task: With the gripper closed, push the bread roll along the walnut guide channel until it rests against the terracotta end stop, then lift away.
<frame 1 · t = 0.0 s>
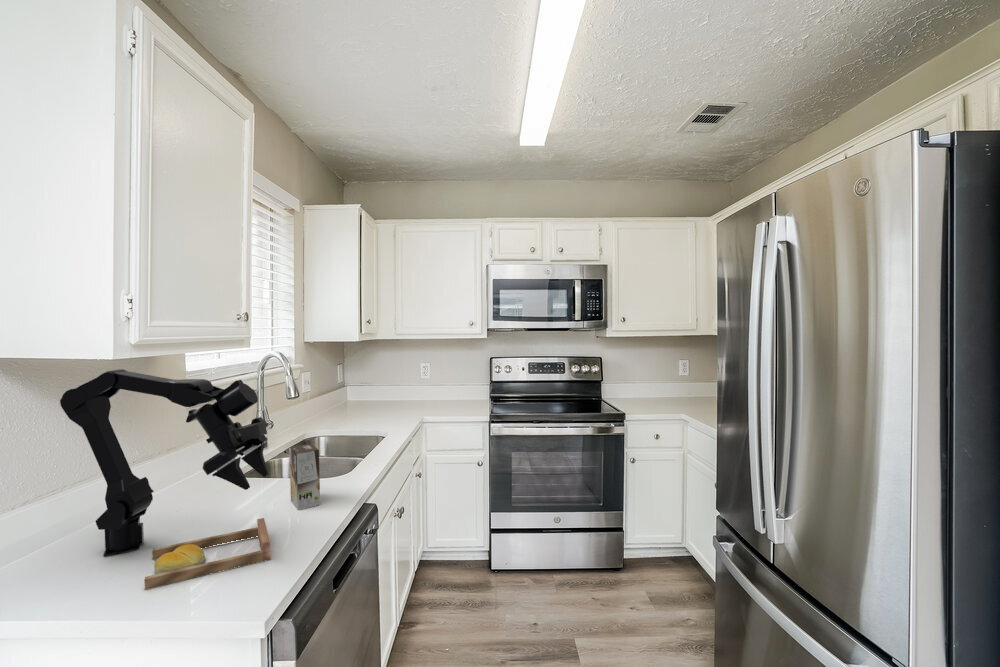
hand: (257, 481, 114), 15 cm above the worktop, tool tilted 35°, fingers open, 9 cm apart
bread roll: (180, 567, 104), on the worktop
guide channel: (210, 558, 107), on the worktop
coffee box: (305, 503, 140), on the worktop
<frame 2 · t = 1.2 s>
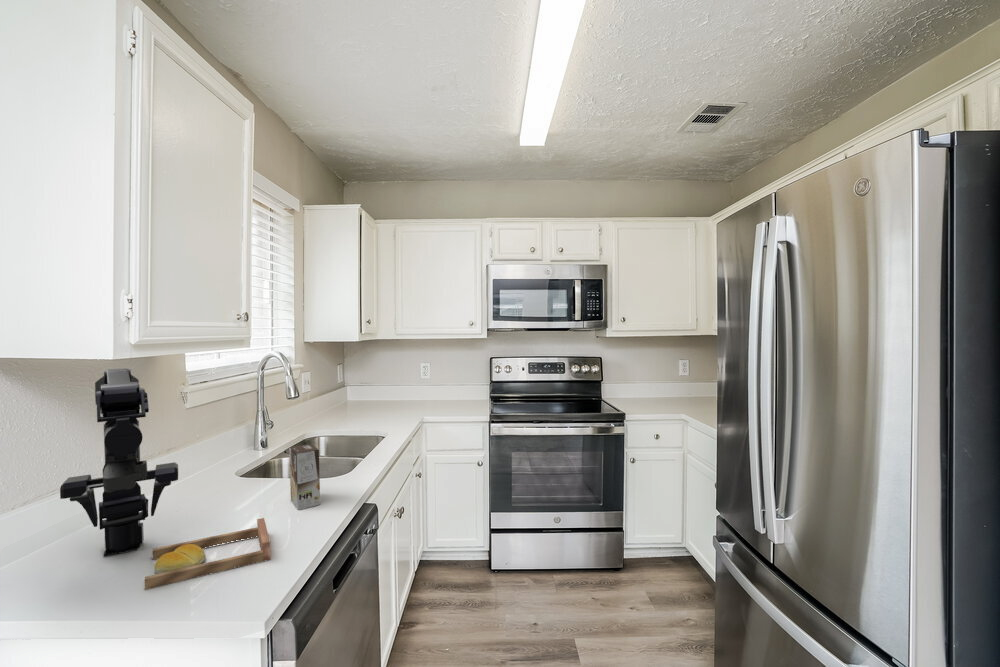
hand: (124, 520, 99), 12 cm above the worktop, tool pointing down, fingers open, 9 cm apart
nothing on the worktop moved.
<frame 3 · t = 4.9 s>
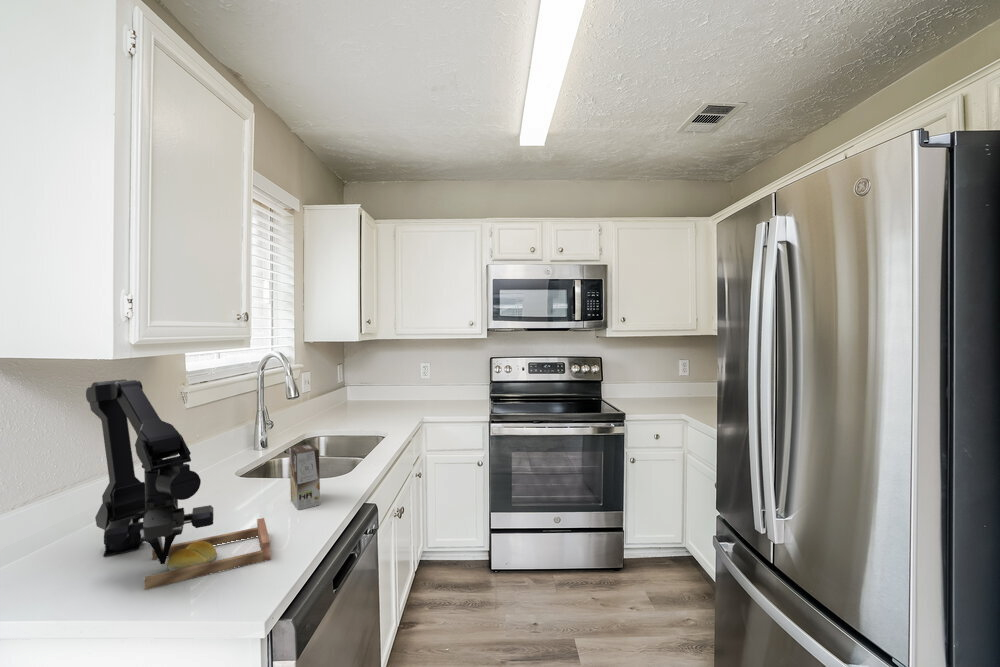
hand: (163, 563, 103), 1 cm above the worktop, tool pointing down, fingers closed
bread roll: (193, 564, 106), on the worktop, touching gripper
everything else where it was.
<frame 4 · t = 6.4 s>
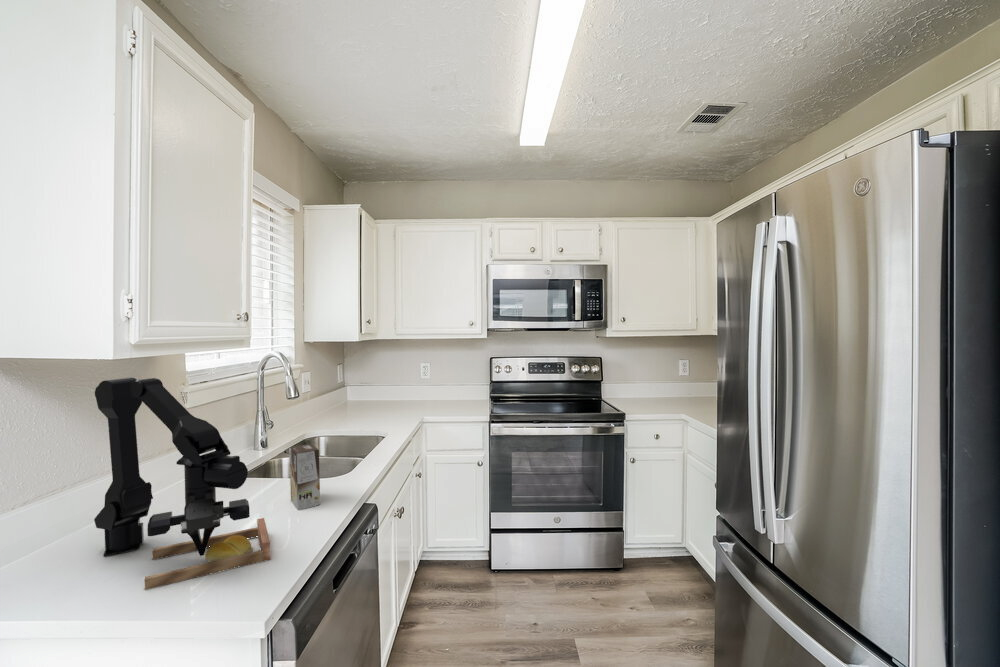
hand: (202, 554, 106), 1 cm above the worktop, tool pointing down, fingers closed
bread roll: (229, 557, 109), on the worktop
everything else where it was.
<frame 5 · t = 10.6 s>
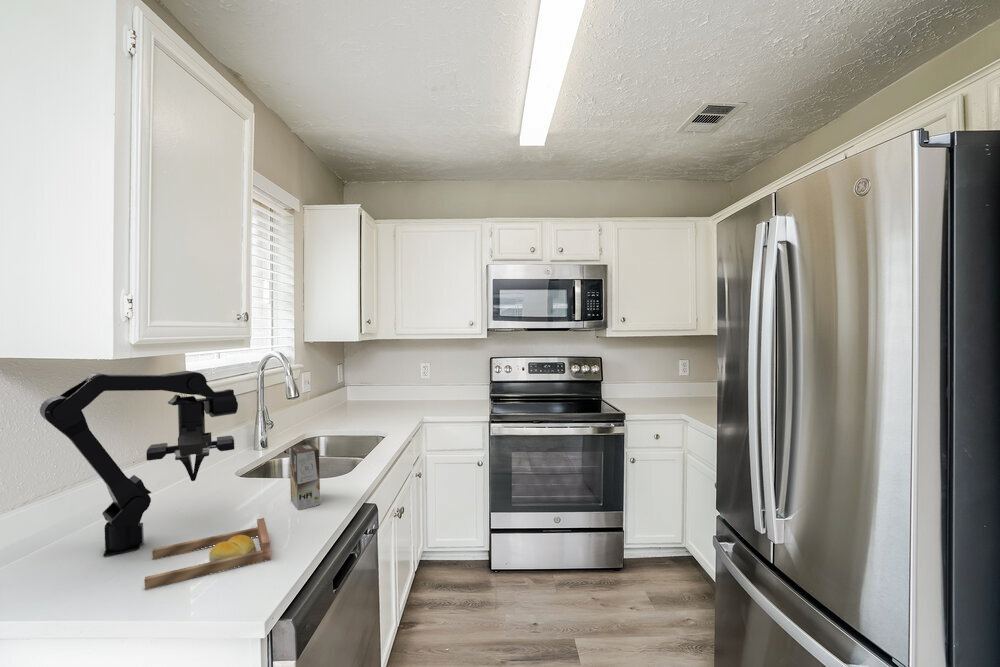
hand: (193, 480, 124), 12 cm above the worktop, tool pointing down, fingers closed
nothing on the worktop moved.
at the end: bread roll inside the target area (1.7 cm from its centre), on the worktop; bread roll moved 10.1 cm from its start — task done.
